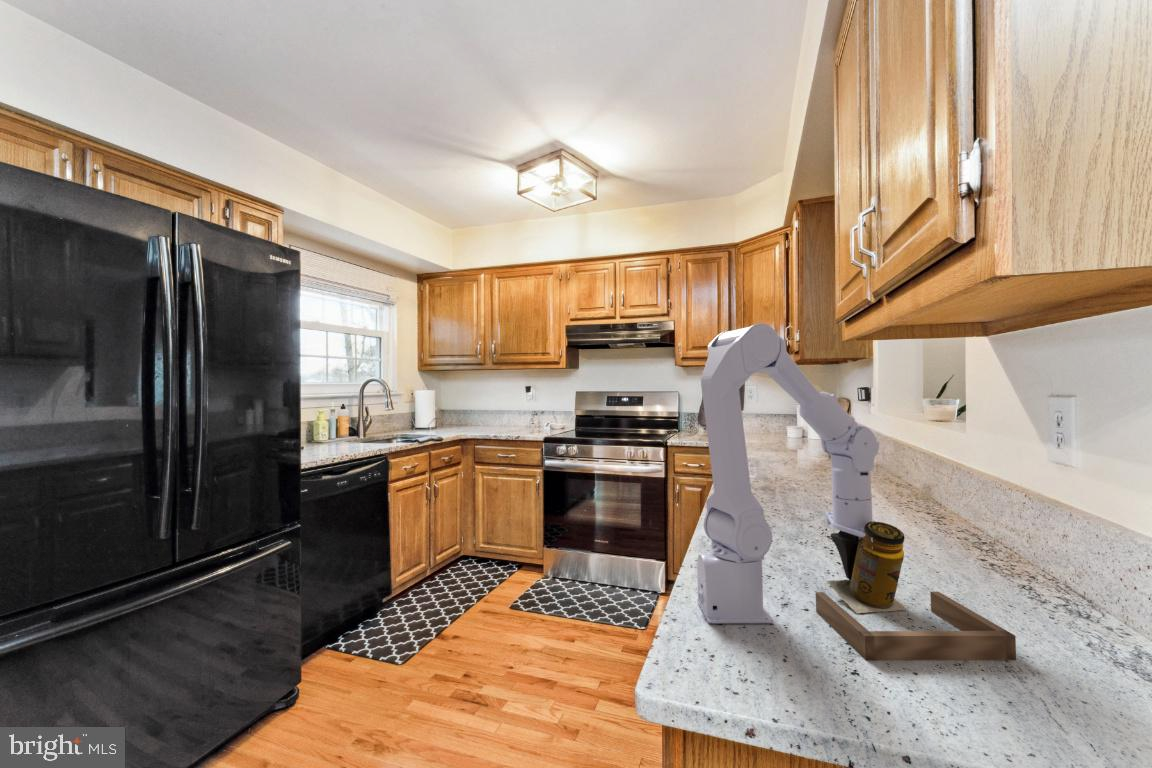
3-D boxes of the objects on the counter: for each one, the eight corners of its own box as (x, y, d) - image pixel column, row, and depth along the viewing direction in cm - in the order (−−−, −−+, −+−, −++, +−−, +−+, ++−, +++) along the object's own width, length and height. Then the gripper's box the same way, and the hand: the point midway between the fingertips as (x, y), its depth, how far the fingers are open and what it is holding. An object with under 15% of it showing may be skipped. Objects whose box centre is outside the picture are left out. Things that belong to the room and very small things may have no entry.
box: (865, 660, 60) (864, 635, 60) (816, 611, 73) (815, 592, 73) (1016, 659, 59) (1015, 635, 59) (939, 611, 72) (938, 591, 73)
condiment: (907, 610, 73) (923, 541, 70) (856, 614, 72) (870, 544, 69) (873, 579, 80) (886, 515, 77) (826, 582, 79) (837, 517, 76)
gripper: (904, 506, 72) (907, 597, 72) (851, 487, 87) (854, 562, 86) (857, 507, 72) (860, 597, 72) (812, 488, 87) (815, 563, 87)
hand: (854, 578), depth 79 cm, fingers closed, pressing on condiment
